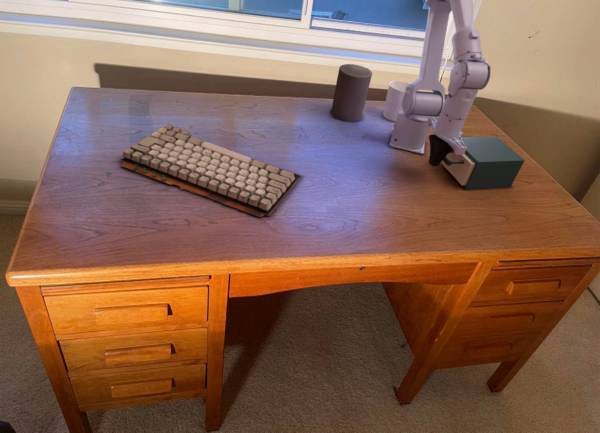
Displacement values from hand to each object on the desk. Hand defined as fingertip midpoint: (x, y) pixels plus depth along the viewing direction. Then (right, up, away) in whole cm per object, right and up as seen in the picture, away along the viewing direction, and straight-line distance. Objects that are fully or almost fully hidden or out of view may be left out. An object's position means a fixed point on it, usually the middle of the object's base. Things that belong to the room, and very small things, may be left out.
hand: (433, 164), depth 107 cm
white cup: (-4, +18, +28) cm, 33 cm away
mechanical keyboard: (-53, -3, -8) cm, 54 cm away
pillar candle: (-19, +18, +25) cm, 36 cm away
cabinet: (+13, -2, +6) cm, 15 cm away
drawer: (+9, -2, +5) cm, 10 cm away
